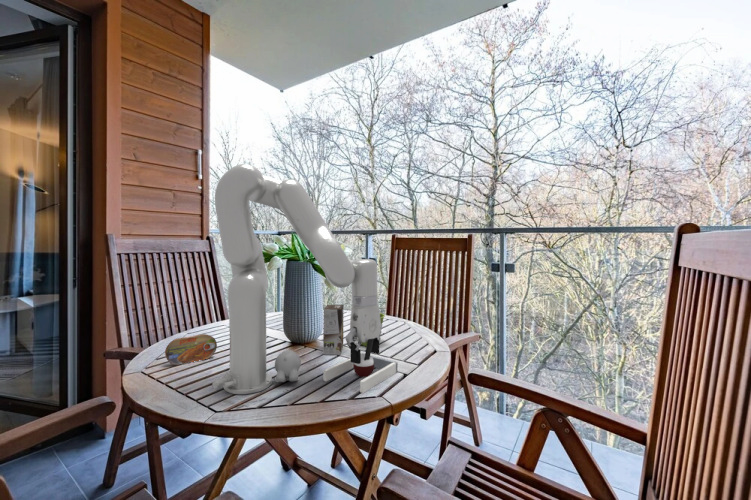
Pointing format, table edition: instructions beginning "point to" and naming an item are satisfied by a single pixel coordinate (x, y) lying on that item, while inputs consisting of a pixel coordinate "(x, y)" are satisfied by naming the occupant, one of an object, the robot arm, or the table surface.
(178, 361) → the tin
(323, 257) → the robot arm
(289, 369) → the chubby cartoon animal
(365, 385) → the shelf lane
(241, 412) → the table surface
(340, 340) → the coffee box
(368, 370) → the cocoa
